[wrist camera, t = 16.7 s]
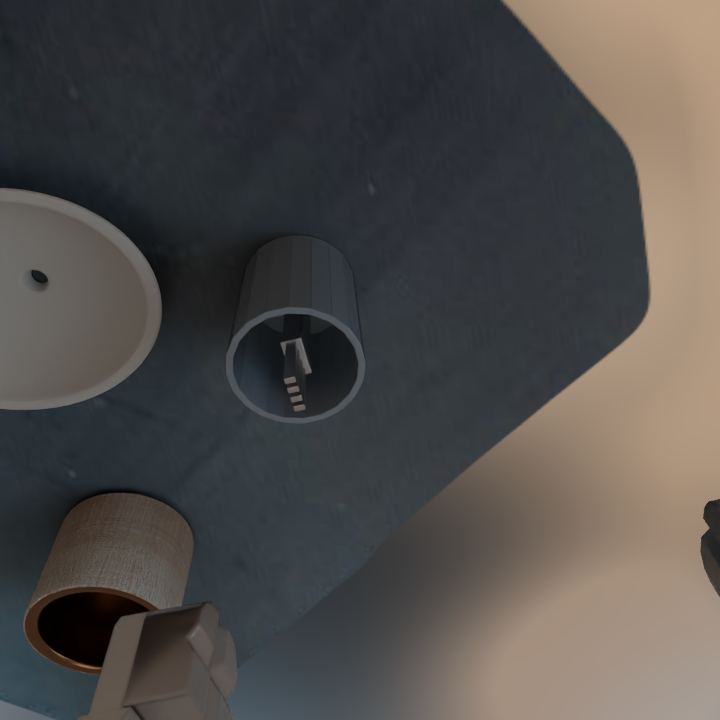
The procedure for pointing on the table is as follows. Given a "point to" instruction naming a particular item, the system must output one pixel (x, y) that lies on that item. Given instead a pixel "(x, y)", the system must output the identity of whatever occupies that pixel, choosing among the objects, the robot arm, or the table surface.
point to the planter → (106, 575)
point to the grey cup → (327, 332)
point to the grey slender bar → (296, 356)
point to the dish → (69, 303)
